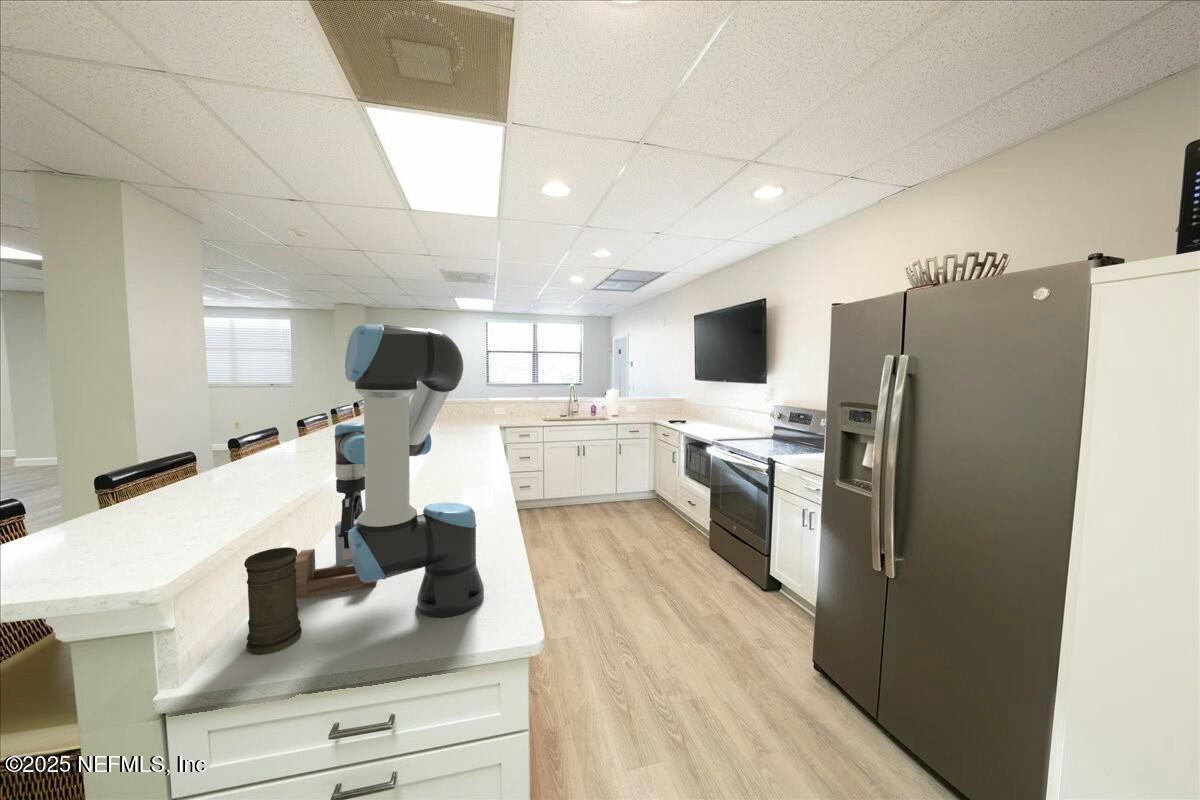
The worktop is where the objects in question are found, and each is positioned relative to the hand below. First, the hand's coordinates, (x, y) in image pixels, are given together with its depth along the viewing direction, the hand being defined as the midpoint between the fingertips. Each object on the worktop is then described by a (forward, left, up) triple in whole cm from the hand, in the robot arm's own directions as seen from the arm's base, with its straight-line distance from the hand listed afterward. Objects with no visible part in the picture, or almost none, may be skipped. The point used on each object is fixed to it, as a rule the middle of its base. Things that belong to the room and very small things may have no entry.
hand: (353, 549), depth 121 cm
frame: (-14, +1, -4) cm, 15 cm away
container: (-36, +8, -4) cm, 37 cm away
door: (0, 0, -4) cm, 4 cm away
